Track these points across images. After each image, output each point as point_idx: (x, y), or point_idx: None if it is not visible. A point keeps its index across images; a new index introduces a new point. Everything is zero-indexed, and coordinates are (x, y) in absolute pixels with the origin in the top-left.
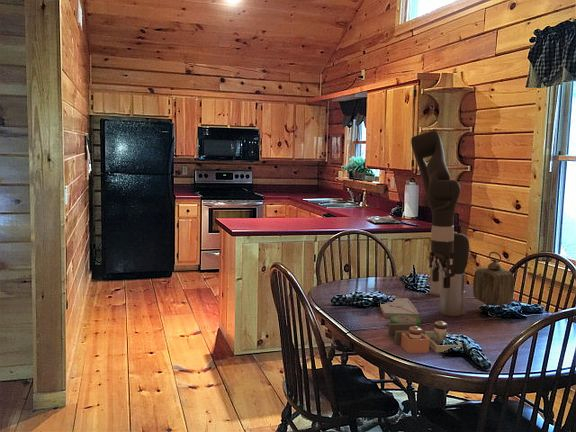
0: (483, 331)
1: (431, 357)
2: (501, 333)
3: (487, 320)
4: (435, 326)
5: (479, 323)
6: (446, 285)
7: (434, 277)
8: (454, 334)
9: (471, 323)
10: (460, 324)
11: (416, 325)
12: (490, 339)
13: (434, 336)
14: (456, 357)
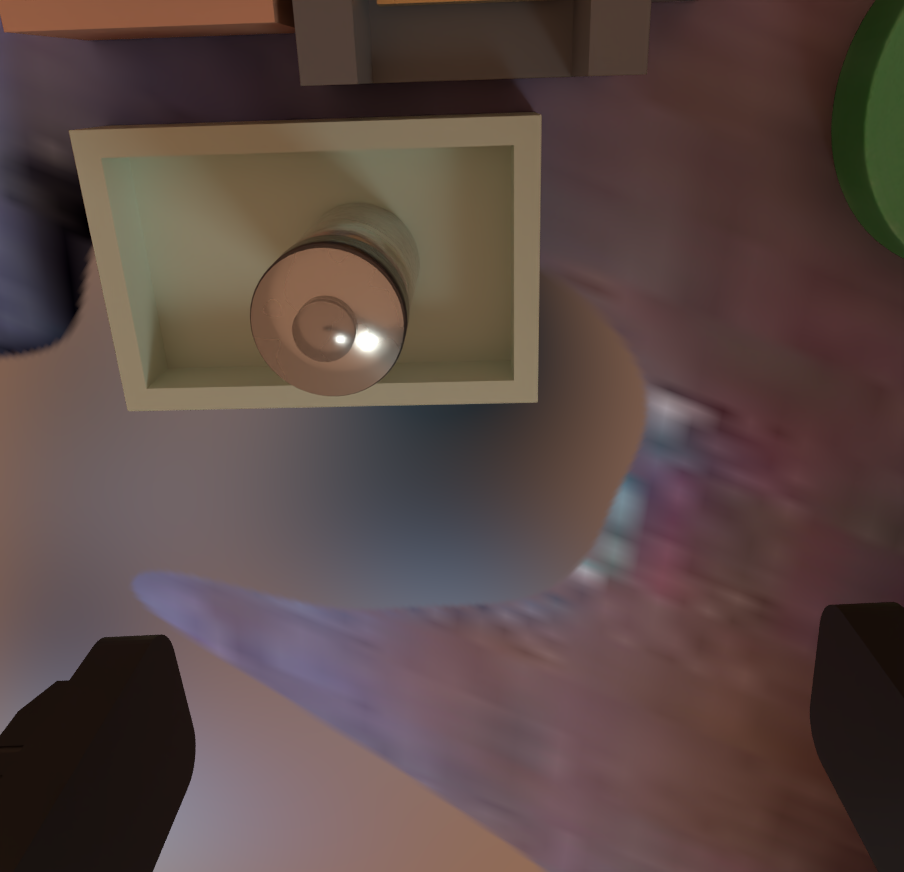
0: (648, 738)
1: (3, 37)
2: (585, 827)
3: None
4: (311, 240)
5: None
6: (19, 722)
7: (879, 721)
8: (615, 501)
9: None
10: None
11: (585, 70)
12: (467, 712)
13: (341, 216)
14: (41, 292)
